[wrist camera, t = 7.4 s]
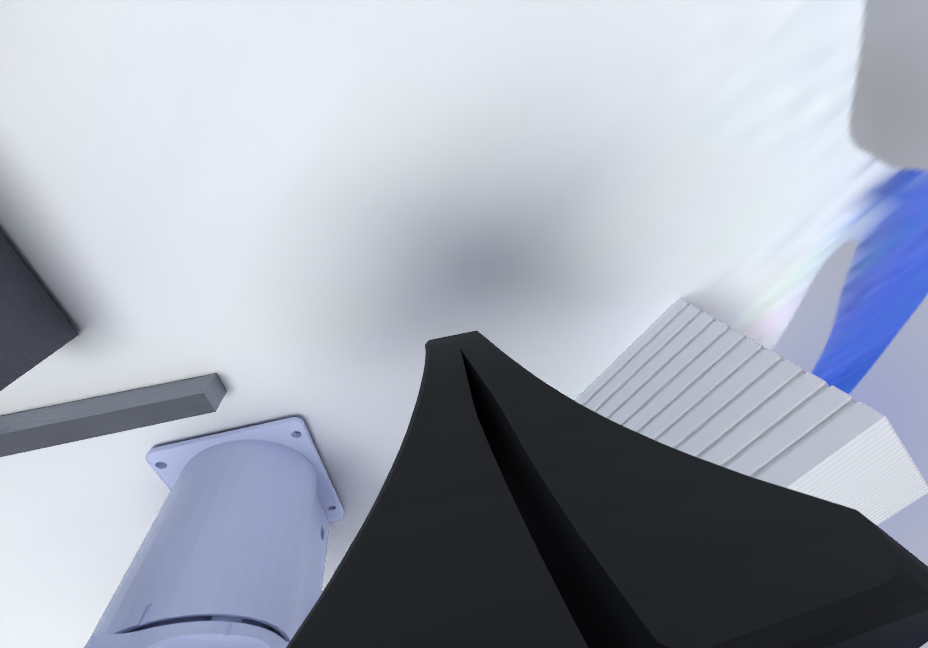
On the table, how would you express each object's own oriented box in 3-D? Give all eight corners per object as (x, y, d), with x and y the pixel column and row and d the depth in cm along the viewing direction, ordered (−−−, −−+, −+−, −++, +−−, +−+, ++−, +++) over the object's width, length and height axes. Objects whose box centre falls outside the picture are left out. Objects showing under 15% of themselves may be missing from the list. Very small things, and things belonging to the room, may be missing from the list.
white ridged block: (479, 593, 36) (516, 757, 26) (388, 578, 31) (394, 771, 22) (744, 366, 27) (931, 490, 18) (676, 296, 22) (886, 416, 13)
